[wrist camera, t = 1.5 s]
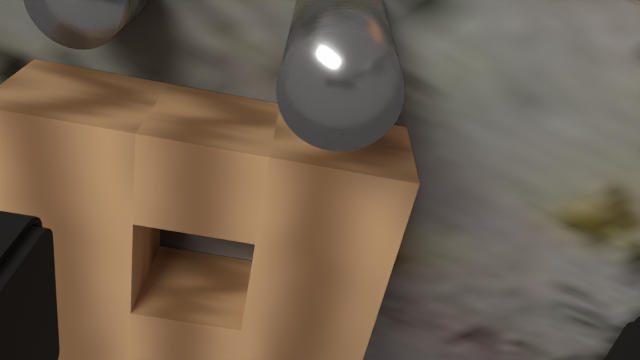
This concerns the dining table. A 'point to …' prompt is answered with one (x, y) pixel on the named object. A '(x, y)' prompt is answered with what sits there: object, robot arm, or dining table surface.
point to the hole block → (199, 219)
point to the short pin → (82, 19)
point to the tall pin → (340, 74)
